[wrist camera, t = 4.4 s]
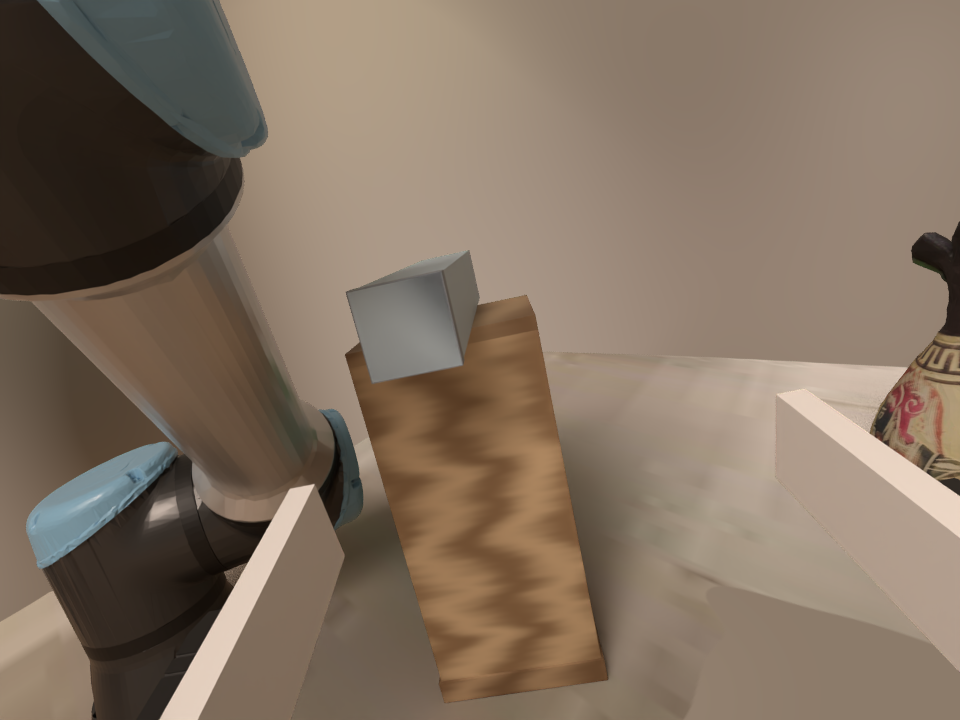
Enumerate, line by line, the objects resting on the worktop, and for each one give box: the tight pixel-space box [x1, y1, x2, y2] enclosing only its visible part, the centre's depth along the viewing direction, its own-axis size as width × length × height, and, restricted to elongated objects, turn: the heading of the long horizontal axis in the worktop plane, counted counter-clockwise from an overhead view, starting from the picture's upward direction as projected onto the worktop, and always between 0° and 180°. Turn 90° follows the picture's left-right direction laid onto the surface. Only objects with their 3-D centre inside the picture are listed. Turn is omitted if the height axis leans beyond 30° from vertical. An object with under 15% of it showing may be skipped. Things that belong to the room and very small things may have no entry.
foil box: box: [346, 250, 479, 384], centre depth 35 cm, size 5×24×5 cm, turn 178°
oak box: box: [345, 295, 608, 703], centre depth 41 cm, size 13×10×30 cm
